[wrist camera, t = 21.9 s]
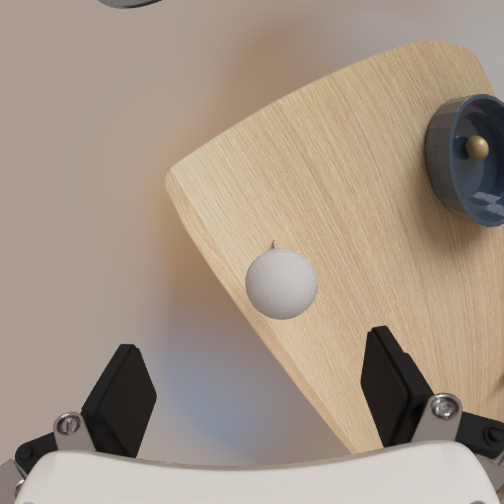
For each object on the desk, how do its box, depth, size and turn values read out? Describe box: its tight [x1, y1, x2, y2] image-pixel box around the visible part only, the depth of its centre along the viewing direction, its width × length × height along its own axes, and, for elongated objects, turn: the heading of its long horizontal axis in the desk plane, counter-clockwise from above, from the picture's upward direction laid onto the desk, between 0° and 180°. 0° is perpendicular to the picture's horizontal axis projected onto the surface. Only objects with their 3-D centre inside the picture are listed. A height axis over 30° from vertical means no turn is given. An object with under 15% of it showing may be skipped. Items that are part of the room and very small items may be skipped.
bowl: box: [426, 94, 504, 227], centre depth 28 cm, size 17×17×6 cm
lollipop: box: [246, 240, 318, 320], centre depth 29 cm, size 6×6×15 cm
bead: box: [465, 135, 489, 161], centre depth 29 cm, size 4×4×4 cm
